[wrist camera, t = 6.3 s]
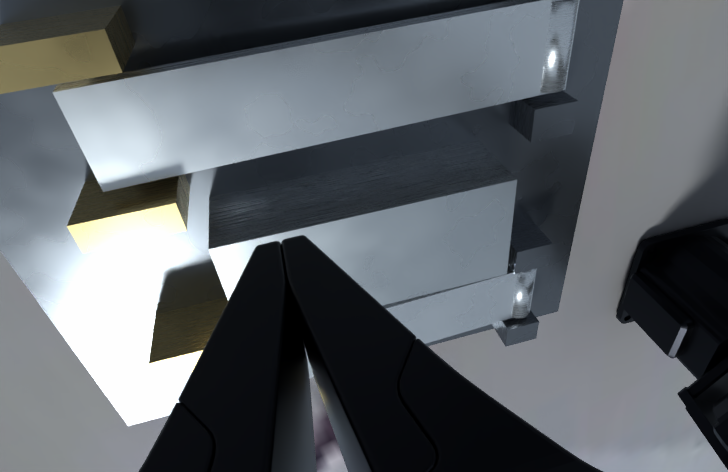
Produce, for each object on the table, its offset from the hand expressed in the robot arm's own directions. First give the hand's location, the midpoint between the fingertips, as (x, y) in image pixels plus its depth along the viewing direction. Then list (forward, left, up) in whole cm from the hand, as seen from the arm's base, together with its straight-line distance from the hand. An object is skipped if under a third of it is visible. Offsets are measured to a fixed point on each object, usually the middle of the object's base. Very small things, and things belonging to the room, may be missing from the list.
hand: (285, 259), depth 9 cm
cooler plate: (-2, +5, -11) cm, 12 cm away
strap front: (-3, 0, -8) cm, 8 cm away
